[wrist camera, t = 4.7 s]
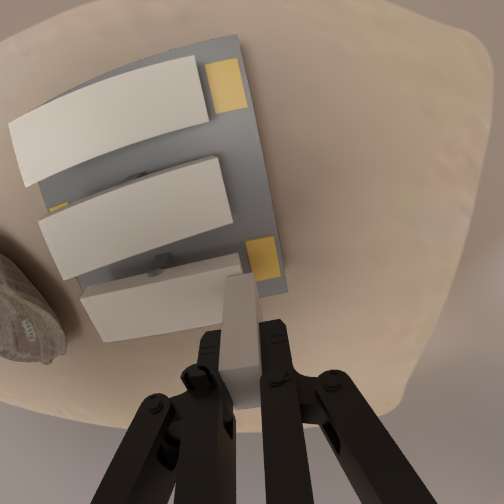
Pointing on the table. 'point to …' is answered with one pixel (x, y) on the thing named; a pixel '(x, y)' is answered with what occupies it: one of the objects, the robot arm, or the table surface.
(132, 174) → the switch unit
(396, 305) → the table surface
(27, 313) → the seashell
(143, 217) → the rocker
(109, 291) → the rocker
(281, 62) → the table surface
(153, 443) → the robot arm
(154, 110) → the plate
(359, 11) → the table surface
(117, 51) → the table surface
